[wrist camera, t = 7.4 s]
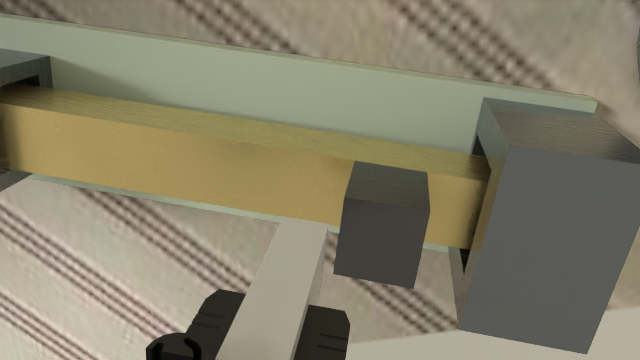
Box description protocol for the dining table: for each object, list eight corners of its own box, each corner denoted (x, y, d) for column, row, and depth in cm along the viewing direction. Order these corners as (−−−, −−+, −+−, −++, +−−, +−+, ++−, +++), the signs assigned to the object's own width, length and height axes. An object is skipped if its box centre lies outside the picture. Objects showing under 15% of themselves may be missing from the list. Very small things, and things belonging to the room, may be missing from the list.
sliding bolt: (-7, 136, 28) (-131, 187, 21) (-16, 77, 26) (-150, 113, 20) (527, 227, 25) (568, 317, 18) (546, 165, 23) (596, 240, 17)
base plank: (-17, 160, 31) (-32, 167, 30) (-42, 7, 28) (-61, 8, 27) (536, 257, 28) (541, 269, 27) (589, 96, 24) (598, 102, 23)
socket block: (447, 244, 27) (459, 329, 21) (483, 96, 24) (509, 144, 18) (544, 261, 27) (586, 354, 20) (594, 112, 23) (663, 167, 17)
